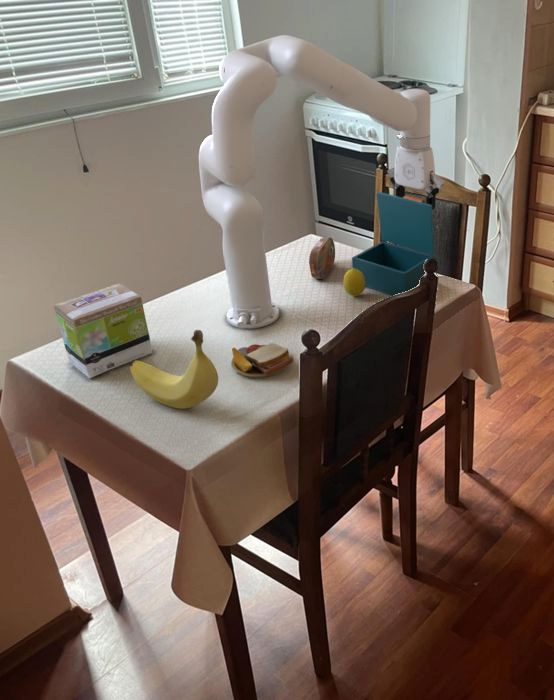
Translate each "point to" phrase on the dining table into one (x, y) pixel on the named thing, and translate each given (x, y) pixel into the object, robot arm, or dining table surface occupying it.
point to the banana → (179, 380)
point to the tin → (322, 258)
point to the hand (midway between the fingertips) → (415, 206)
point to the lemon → (354, 282)
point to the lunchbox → (390, 267)
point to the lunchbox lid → (406, 222)
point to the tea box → (103, 329)
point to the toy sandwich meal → (260, 360)
